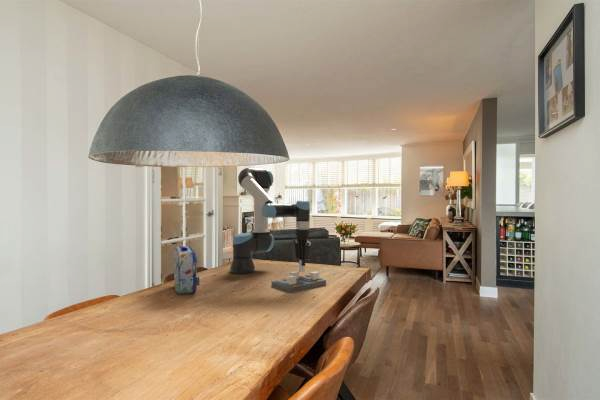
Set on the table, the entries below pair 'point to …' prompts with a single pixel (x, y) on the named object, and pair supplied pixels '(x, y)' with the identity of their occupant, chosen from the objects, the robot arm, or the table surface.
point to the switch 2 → (314, 275)
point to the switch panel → (298, 284)
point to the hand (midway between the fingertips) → (301, 271)
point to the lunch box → (185, 270)
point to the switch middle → (295, 274)
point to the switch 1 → (291, 280)
